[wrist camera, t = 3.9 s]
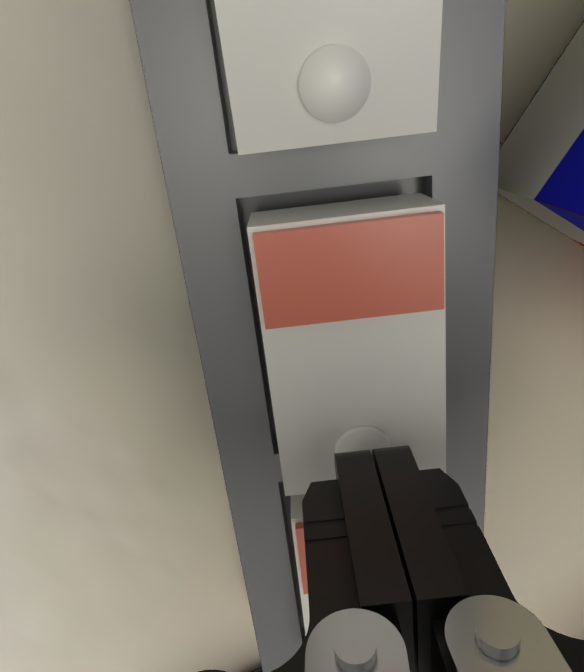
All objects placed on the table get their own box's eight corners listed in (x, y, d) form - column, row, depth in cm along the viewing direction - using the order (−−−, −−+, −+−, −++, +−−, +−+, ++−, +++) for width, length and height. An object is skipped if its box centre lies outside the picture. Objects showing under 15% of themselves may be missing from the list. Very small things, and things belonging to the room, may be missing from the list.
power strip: (93, -361, 10) (19, -554, 7) (456, -411, 10) (530, -625, 7) (265, 596, 20) (264, 679, 17) (448, 577, 20) (478, 657, 17)
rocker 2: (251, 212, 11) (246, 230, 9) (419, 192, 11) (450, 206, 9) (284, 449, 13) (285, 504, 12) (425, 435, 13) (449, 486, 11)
